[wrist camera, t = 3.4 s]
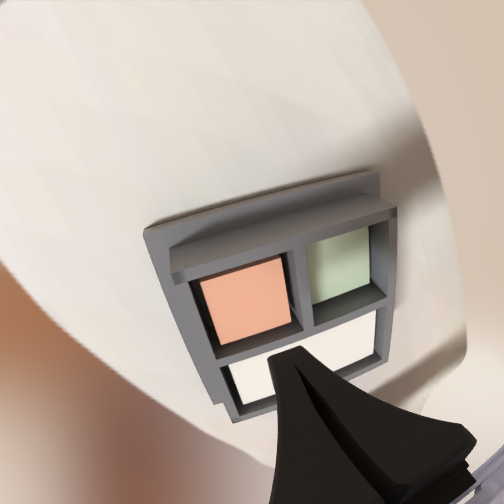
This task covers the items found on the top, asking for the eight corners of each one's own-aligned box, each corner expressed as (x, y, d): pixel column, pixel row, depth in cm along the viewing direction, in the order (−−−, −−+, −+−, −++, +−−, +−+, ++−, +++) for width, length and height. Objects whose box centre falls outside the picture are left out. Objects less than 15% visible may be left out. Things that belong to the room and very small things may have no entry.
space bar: (362, 341, 21) (373, 353, 20) (238, 388, 20) (243, 404, 19) (363, 298, 20) (375, 309, 18) (223, 348, 18) (228, 364, 17)
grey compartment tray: (371, 336, 24) (397, 364, 21) (211, 395, 22) (221, 435, 19) (369, 169, 18) (410, 182, 15) (144, 229, 16) (138, 258, 13)
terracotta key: (282, 307, 18) (291, 321, 17) (216, 328, 17) (221, 345, 16) (271, 246, 16) (280, 257, 15) (196, 268, 16) (200, 282, 14)
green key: (356, 272, 20) (369, 282, 18) (302, 292, 19) (311, 304, 18) (354, 215, 18) (368, 222, 17) (293, 233, 17) (304, 242, 16)
